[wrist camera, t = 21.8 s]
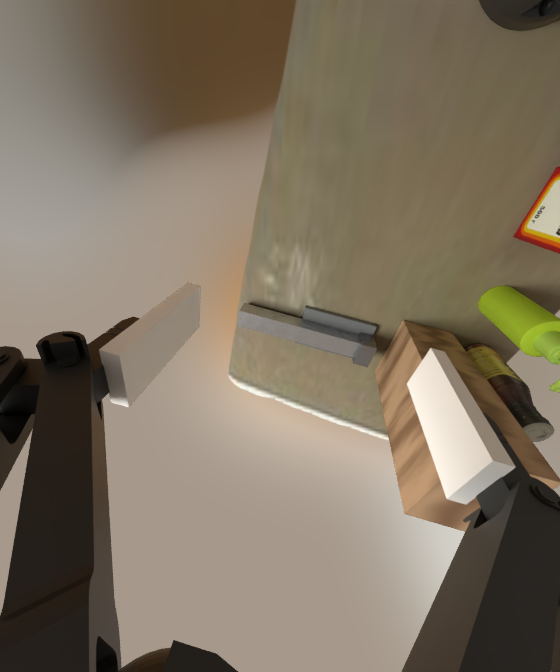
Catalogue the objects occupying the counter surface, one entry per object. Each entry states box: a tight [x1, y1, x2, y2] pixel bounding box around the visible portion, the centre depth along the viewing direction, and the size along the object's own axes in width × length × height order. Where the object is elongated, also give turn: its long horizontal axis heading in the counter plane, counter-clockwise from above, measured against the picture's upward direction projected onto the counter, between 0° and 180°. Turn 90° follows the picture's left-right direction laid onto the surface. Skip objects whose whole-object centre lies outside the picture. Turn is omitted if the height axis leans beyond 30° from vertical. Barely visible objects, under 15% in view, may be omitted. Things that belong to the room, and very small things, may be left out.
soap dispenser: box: [478, 286, 560, 393], centre depth 39 cm, size 6×7×20 cm
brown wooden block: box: [375, 320, 560, 532], centre depth 43 cm, size 10×14×30 cm
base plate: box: [295, 306, 377, 358], centre depth 56 cm, size 15×9×1 cm, turn 78°
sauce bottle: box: [464, 344, 554, 442], centre depth 45 cm, size 6×6×20 cm
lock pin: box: [237, 303, 377, 367], centre depth 54 cm, size 28×5×5 cm, turn 78°
